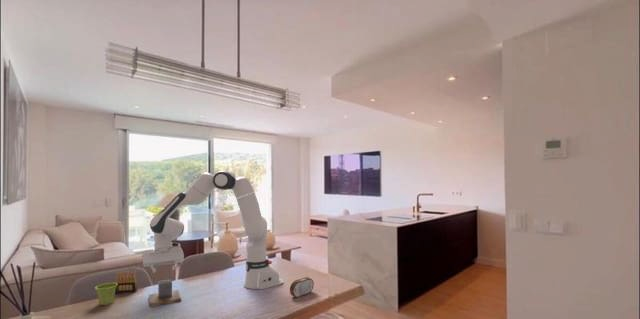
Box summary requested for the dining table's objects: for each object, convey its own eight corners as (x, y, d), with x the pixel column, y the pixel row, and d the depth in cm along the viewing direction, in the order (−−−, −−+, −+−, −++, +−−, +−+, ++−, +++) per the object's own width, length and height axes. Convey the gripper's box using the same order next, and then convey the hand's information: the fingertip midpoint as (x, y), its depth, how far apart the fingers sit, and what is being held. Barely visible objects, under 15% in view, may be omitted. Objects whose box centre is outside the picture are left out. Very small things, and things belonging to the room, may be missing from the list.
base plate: (178, 292, 177) (178, 289, 178) (180, 301, 165) (180, 298, 165) (149, 297, 171) (149, 294, 171) (149, 306, 158) (149, 303, 159)
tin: (310, 290, 179) (310, 275, 179) (314, 292, 176) (314, 276, 177) (289, 298, 168) (289, 281, 168) (293, 299, 166) (293, 283, 166)
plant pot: (92, 303, 163) (93, 286, 164) (114, 298, 170) (114, 281, 171) (97, 308, 157) (98, 290, 158) (119, 302, 164) (120, 285, 164)
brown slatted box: (136, 290, 182) (137, 268, 182) (135, 291, 180) (135, 269, 180) (116, 291, 180) (116, 269, 181) (114, 293, 178) (115, 270, 179)
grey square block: (170, 293, 172) (171, 279, 173) (171, 297, 167) (171, 282, 167) (158, 295, 169) (158, 280, 170) (158, 299, 164) (158, 284, 164)
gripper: (142, 247, 176) (142, 270, 167) (183, 243, 186) (185, 264, 177) (142, 254, 179) (142, 277, 170) (182, 249, 189) (184, 270, 180)
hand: (164, 270), depth 174 cm, fingers open, 8 cm apart
